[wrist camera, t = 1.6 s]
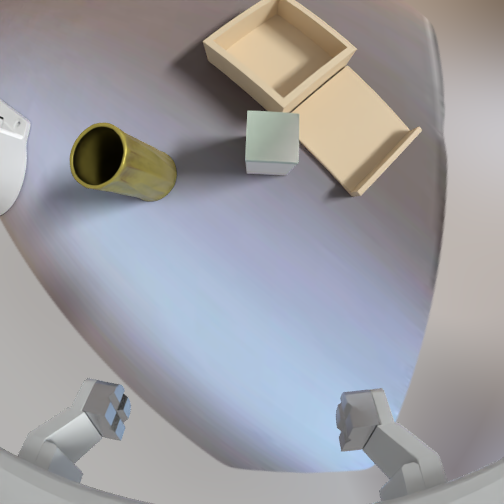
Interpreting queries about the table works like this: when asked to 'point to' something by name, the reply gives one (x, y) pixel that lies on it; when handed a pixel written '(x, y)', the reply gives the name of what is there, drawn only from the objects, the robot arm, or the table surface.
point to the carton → (271, 142)
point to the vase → (121, 164)
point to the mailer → (311, 88)
